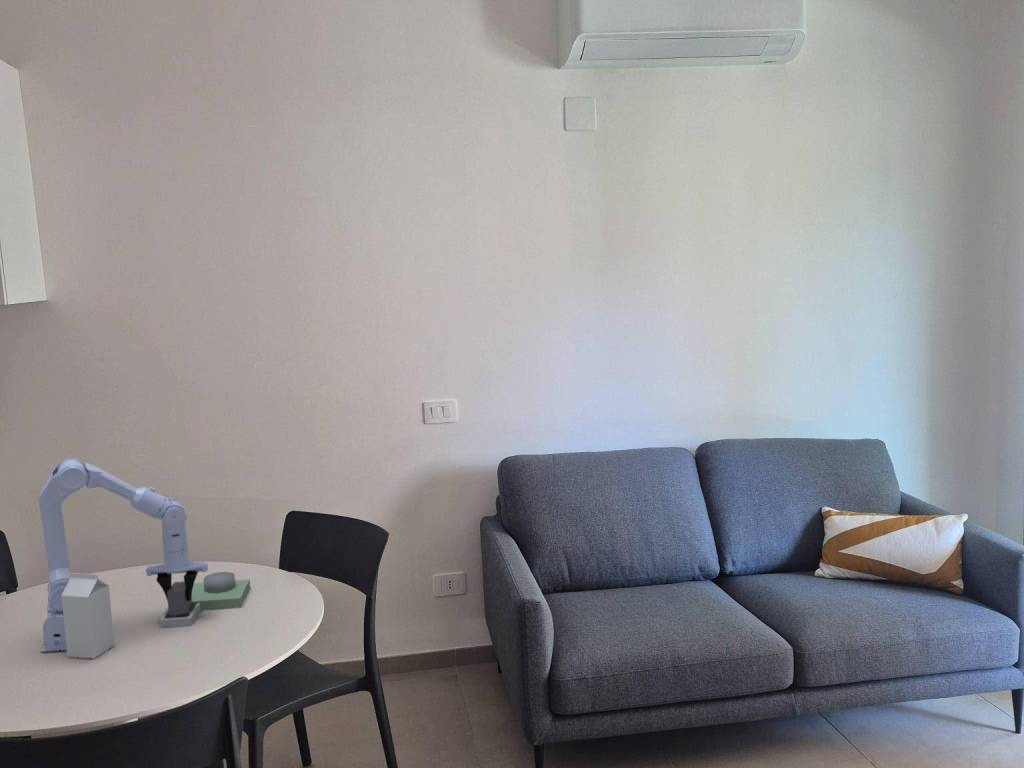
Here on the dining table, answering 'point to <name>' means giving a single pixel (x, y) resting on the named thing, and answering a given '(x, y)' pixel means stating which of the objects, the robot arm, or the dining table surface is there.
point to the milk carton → (87, 616)
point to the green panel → (211, 597)
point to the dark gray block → (178, 599)
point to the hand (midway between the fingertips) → (179, 600)
